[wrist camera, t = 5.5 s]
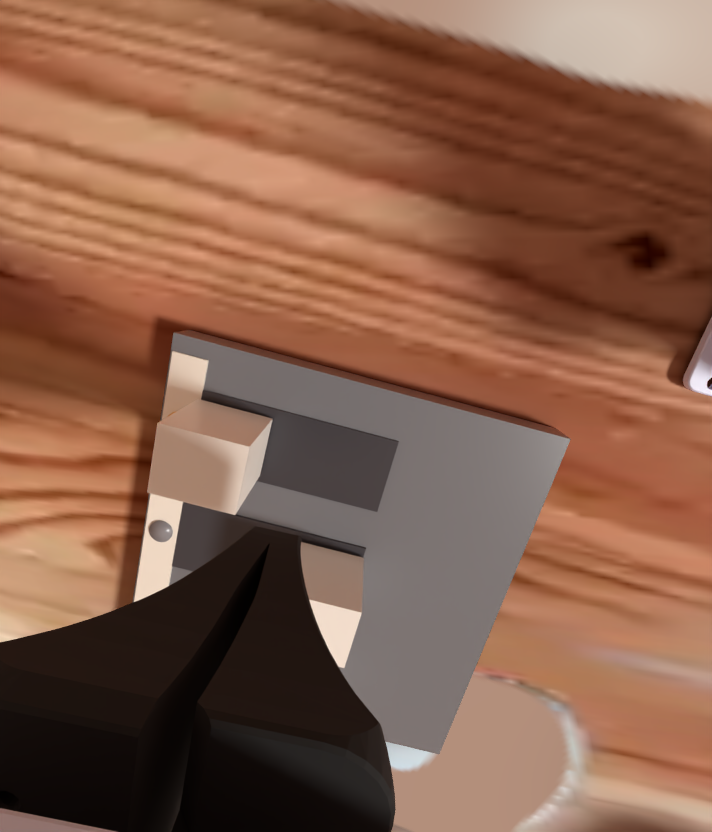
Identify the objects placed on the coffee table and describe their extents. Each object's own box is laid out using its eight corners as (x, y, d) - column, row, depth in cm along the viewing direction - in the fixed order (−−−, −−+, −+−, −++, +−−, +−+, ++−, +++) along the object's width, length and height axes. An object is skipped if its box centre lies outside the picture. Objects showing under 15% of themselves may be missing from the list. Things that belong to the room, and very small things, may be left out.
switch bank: (555, 428, 19) (572, 440, 17) (434, 725, 23) (439, 757, 22) (189, 329, 18) (171, 332, 17) (136, 653, 23) (118, 681, 21)
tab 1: (272, 418, 17) (249, 446, 14) (260, 475, 18) (235, 515, 15) (198, 398, 17) (157, 422, 14) (188, 456, 18) (147, 492, 15)
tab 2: (363, 557, 19) (361, 612, 16) (348, 605, 19) (344, 668, 16) (295, 540, 19) (279, 592, 15) (282, 589, 19) (264, 648, 16)
